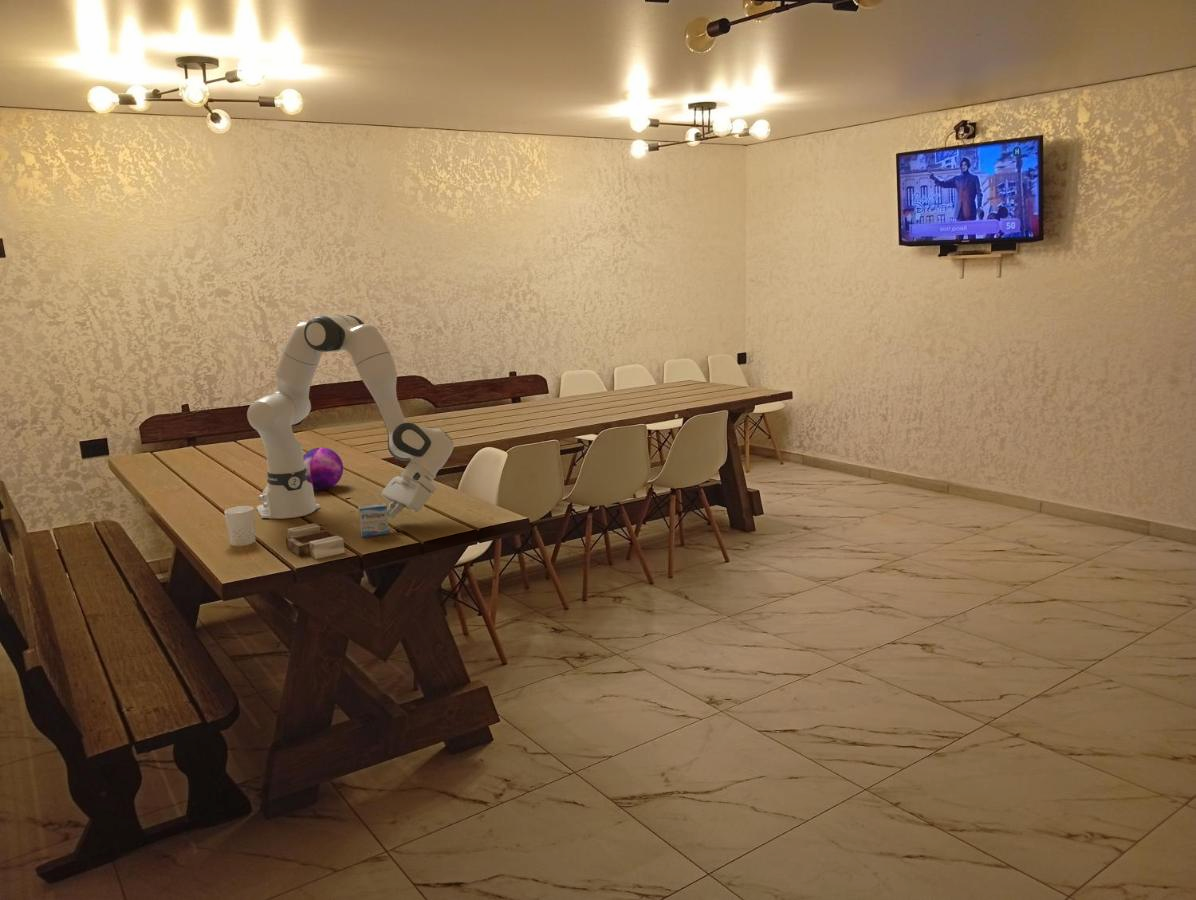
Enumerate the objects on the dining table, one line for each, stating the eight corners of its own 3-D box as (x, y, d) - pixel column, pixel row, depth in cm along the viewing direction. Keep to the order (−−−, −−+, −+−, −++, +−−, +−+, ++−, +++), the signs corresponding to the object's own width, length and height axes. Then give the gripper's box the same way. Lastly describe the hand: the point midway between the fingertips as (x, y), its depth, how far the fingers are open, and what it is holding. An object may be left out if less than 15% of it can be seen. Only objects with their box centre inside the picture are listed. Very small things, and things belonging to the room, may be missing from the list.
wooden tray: (280, 544, 258) (278, 530, 257) (319, 535, 264) (317, 522, 264) (307, 561, 241) (305, 547, 240) (348, 551, 248) (346, 537, 247)
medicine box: (361, 537, 260) (358, 509, 259) (360, 533, 265) (357, 505, 263) (389, 534, 263) (386, 505, 261) (388, 530, 267) (385, 502, 265)
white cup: (261, 538, 264) (257, 505, 262) (252, 546, 257) (248, 512, 255) (234, 539, 264) (230, 506, 262) (224, 547, 256) (220, 513, 254)
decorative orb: (351, 483, 327) (347, 443, 324) (334, 494, 313) (330, 452, 310) (312, 484, 330) (308, 444, 326) (293, 494, 315) (289, 452, 312)
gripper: (393, 467, 276) (366, 504, 272) (424, 477, 260) (396, 517, 256) (407, 478, 280) (381, 515, 276) (439, 489, 264) (412, 529, 260)
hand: (389, 516), depth 266 cm, fingers closed
